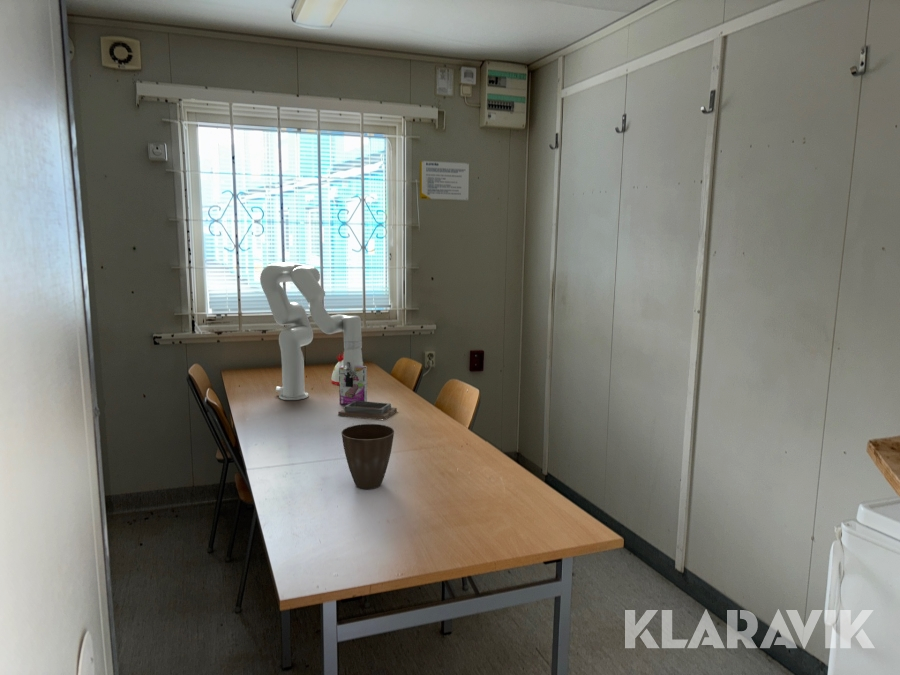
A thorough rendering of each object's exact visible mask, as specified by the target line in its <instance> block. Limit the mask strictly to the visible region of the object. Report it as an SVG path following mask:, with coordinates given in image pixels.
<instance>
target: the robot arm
mask: <svg viewBox="0 0 900 675" xmlns="http://www.w3.org/2000/svg"><path fill="white" fill-rule="evenodd" d="M259 278H260V279H259V280H260V286H261V289H262V290H263V293H264V295H265V298H266V299H267V302H268V305H269V309H270V311H271V314H272V317H273V319H274V321H275V322H276V324H278V326H287V327H286V328H283V329H282V330H281V331H280V333H279V334H278V345H279V349H280V357H281V376H282V377H281V380H282V384H281V385H282V386H276V388H275V392H276V393H277V392H279V393H280V394H279V395H278V396H279V399H280V400H284V401H298V400H299V401H301V400H304V399H307V398H308V397H309V393H308V392H307V391H305V387H306V386H305V362H304V360H305V357H304V354H303V350H302V347H304V346H308V345H309V344H311V343H312V341H313V338H314V331H313V328H312V325H311V323H310V322H311V321H310V320H309V317H308V314H307V312H306V309H305V308H304V307H303V305H301V304H300V303H299V302H295V301H292V302H290V299H289V298H288V295H287V292H286V290H285V289H284V288H283V287H282V285H281V284H280V283H286V282H287V283H288V282H292V283H293V284H294V286H295V287H296V288H297V290H298V291H299V293H300V294H301V295H302V296H303V297H304V299H305V300H306V302H307V303H308V308H309V313H310V316H311V319H312V320H313V322H314V323H315V325H316V326H317V327H318V329H320V331H321V332H323V333H324V334H326V335H333V334H338V333H341V332H343V349H344V350H343V353H344V357H343V356H342V357H343V371H344V375H345V381H346V387H353V378H352V375H353V372H356V369H357V368H358V367H360V366H364V361H363V352H362V348H363V341H362V338H363V336H362V318H361V317H360V316H359V315H345V314H339V313H338V314H334V315H330V314H329V313H328V311H327V310H326V308H325V307H324V304H323V299H324V298H325V296H326V291H325V289H324V288H323V287H322V286H321V285H320V283H319V282H320V279H321V274H320V271H319V269H318V268H316V266H312V265H309V264H308V265H307V264H301V263H295V262H274V263H273V262H272V263H271V264H268V265H266V266H265V267H264V268H262V271H261V273H260V277H259ZM288 325H289V326H290V327H288ZM349 373H350V374H349Z"/></svg>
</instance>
